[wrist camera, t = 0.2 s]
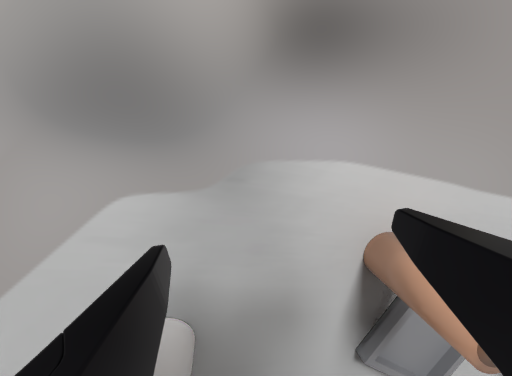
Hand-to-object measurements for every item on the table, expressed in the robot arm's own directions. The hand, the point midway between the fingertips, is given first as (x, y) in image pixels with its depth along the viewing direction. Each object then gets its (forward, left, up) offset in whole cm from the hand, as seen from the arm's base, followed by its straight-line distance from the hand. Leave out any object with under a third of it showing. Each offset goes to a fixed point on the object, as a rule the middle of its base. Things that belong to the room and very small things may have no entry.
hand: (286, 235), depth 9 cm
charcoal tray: (-3, -32, -16) cm, 35 cm away
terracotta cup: (+1, -20, -16) cm, 25 cm away
